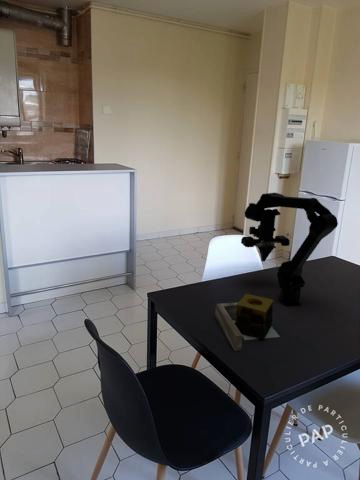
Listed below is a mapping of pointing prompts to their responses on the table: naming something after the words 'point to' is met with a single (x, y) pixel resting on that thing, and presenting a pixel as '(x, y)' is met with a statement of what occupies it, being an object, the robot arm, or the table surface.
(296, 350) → the table surface
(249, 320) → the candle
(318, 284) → the table surface
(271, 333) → the mat
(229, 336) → the arena
